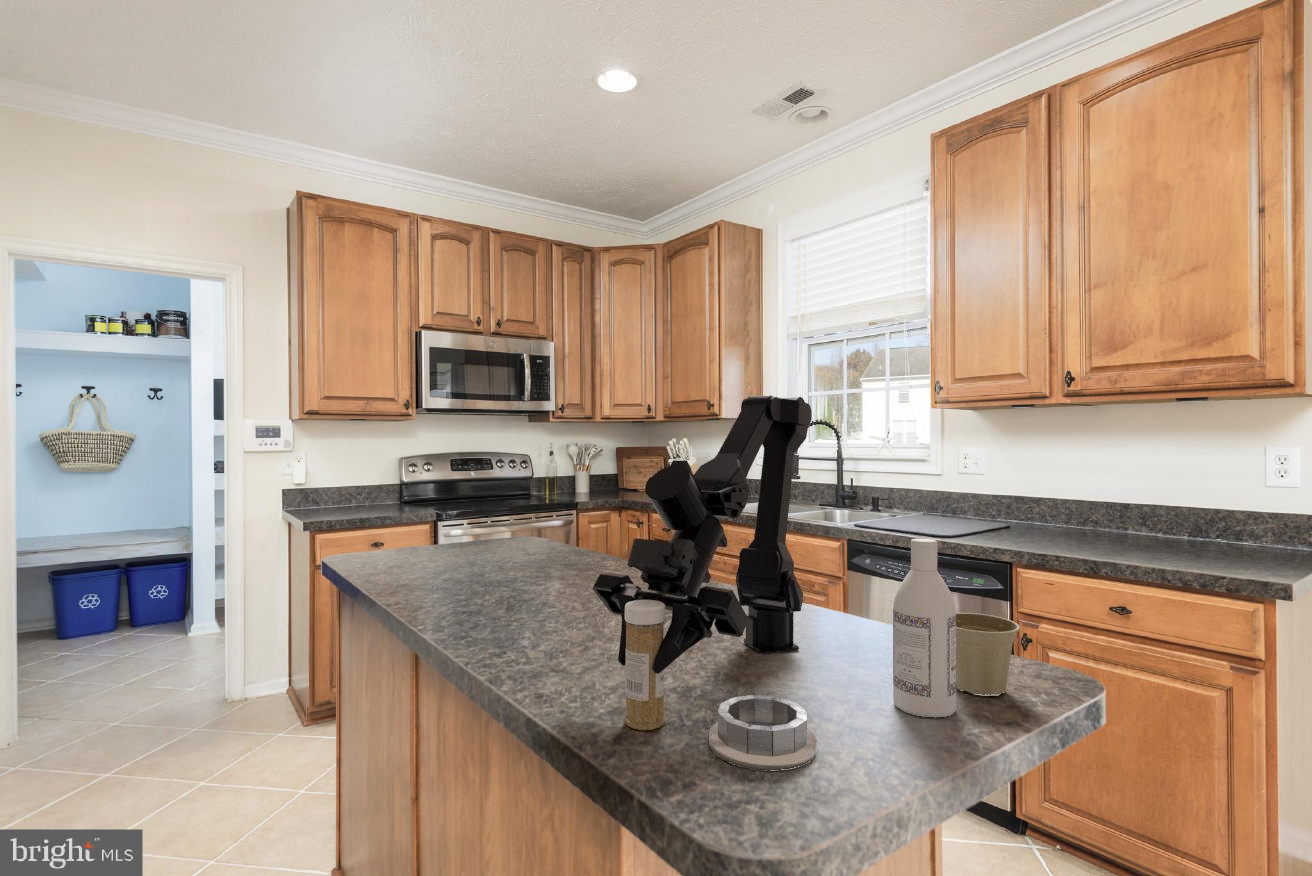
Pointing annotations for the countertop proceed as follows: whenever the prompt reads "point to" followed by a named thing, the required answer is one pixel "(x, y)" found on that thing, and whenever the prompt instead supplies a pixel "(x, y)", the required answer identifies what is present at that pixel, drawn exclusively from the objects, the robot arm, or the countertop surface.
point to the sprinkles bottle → (644, 664)
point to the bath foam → (924, 638)
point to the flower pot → (983, 652)
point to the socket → (762, 733)
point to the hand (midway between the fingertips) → (637, 667)
